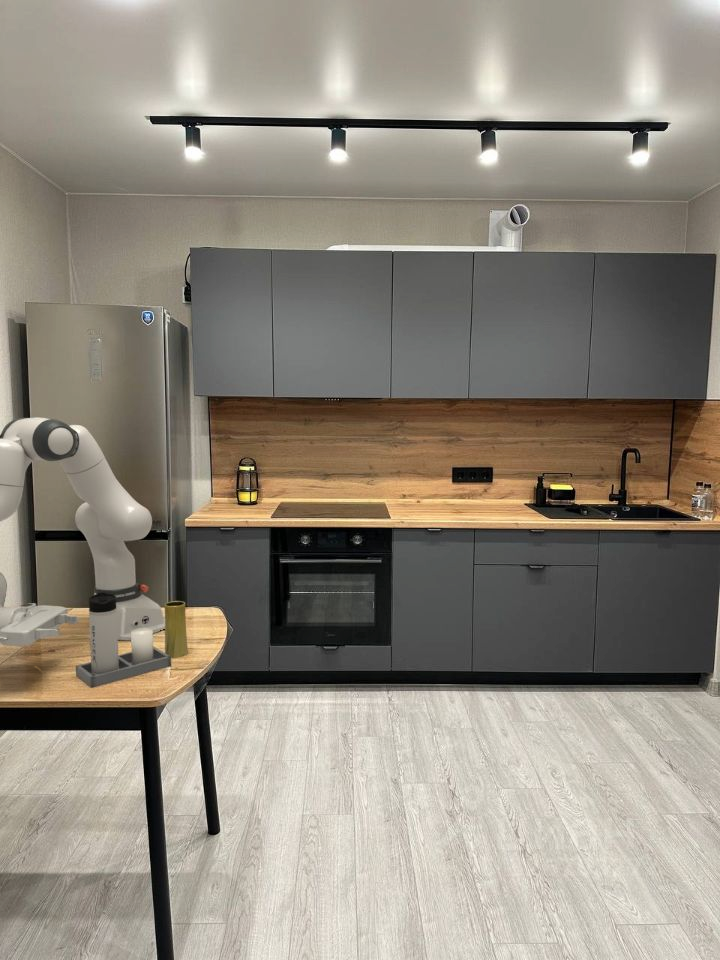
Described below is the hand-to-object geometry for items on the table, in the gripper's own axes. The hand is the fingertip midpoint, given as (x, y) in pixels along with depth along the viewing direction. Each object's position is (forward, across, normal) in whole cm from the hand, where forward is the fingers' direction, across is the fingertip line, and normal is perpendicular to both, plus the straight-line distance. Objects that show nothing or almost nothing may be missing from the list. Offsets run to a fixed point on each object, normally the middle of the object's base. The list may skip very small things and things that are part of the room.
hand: (68, 626), depth 161 cm
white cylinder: (+16, +7, +12) cm, 21 cm away
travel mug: (+9, 0, +12) cm, 15 cm away
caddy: (+12, +4, +13) cm, 18 cm away
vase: (+22, +16, +13) cm, 30 cm away
